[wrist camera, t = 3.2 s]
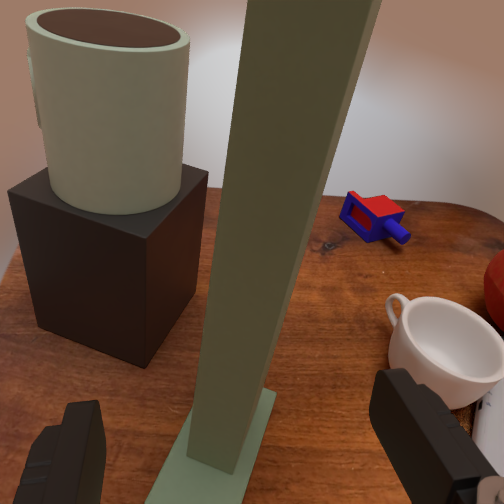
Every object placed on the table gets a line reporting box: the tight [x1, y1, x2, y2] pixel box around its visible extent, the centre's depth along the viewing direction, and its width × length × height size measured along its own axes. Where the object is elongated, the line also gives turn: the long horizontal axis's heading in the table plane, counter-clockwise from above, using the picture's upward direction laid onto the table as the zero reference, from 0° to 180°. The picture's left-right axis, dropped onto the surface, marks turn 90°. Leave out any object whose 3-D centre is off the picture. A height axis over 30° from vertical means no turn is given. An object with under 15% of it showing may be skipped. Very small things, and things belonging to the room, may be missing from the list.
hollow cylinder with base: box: [7, 8, 209, 368], centre depth 28 cm, size 10×9×21 cm
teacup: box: [385, 294, 504, 409], centre depth 33 cm, size 10×8×5 cm
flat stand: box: [144, 0, 382, 504], centre depth 17 cm, size 5×12×30 cm, turn 162°
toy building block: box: [339, 191, 411, 245], centre depth 49 cm, size 4×4×8 cm
